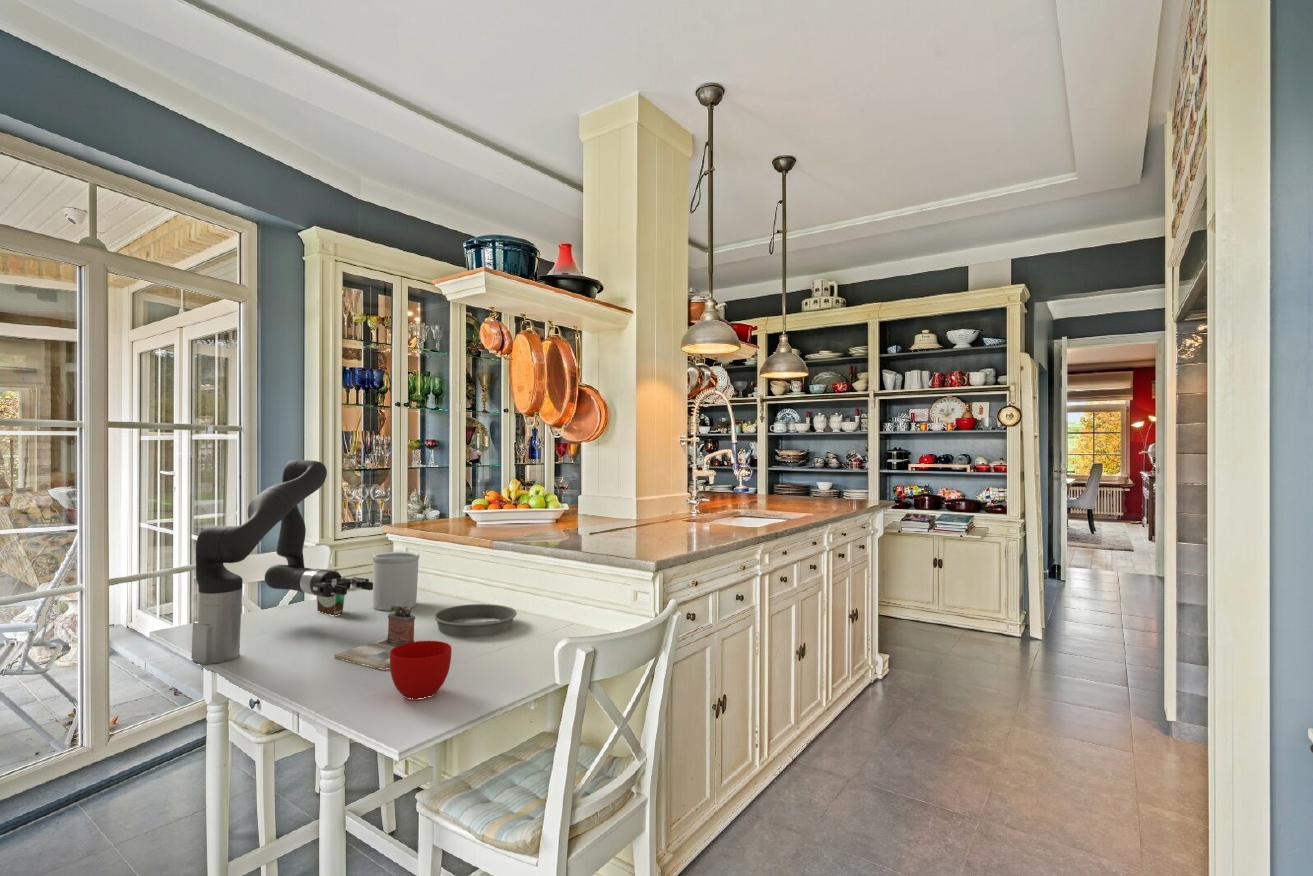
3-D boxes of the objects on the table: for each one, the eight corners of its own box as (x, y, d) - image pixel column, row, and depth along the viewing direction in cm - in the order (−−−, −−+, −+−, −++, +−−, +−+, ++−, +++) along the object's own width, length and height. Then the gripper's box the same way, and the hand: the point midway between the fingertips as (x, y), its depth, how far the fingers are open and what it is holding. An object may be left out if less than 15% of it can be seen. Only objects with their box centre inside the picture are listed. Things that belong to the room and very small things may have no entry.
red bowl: (434, 674, 154) (435, 633, 154) (458, 698, 141) (460, 652, 141) (377, 685, 146) (378, 641, 147) (397, 711, 133) (398, 662, 133)
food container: (354, 613, 206) (356, 582, 206) (336, 617, 201) (337, 585, 201) (332, 607, 213) (334, 577, 213) (314, 611, 208) (315, 580, 208)
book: (384, 671, 156) (384, 665, 156) (334, 658, 164) (334, 653, 164) (439, 650, 172) (439, 646, 172) (391, 640, 180) (391, 635, 180)
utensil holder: (365, 604, 218) (366, 553, 218) (409, 598, 228) (410, 549, 228) (378, 613, 207) (380, 559, 207) (424, 607, 216) (426, 555, 217)
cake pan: (532, 629, 196) (532, 614, 196) (459, 645, 178) (459, 629, 178) (488, 613, 213) (489, 599, 213) (418, 626, 195) (418, 611, 195)
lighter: (417, 643, 174) (418, 606, 174) (408, 646, 171) (410, 609, 171) (392, 639, 176) (394, 603, 176) (384, 643, 173) (385, 606, 173)
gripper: (298, 572, 180) (337, 578, 173) (343, 566, 193) (381, 571, 185) (297, 599, 179) (335, 606, 172) (341, 591, 192) (379, 598, 185)
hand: (359, 588), depth 179 cm, fingers open, 8 cm apart
